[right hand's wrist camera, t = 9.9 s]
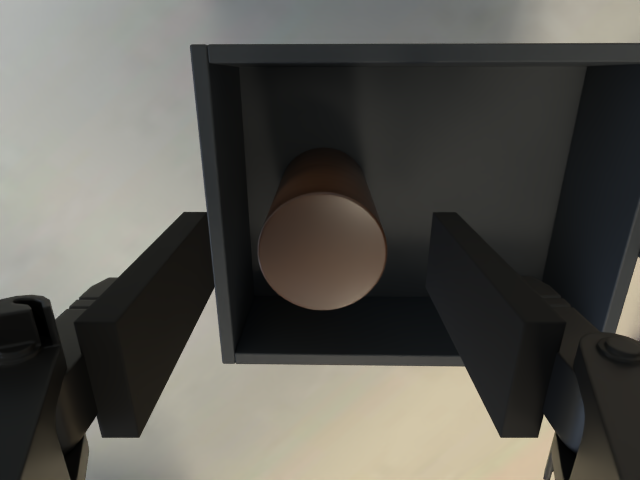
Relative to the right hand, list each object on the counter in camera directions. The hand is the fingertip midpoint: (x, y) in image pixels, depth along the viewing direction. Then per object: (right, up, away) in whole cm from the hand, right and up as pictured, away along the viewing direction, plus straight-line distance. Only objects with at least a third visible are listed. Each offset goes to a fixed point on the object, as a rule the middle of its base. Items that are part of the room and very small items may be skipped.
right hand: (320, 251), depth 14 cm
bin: (+11, +3, +8) cm, 14 cm away
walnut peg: (0, +3, +8) cm, 8 cm away
